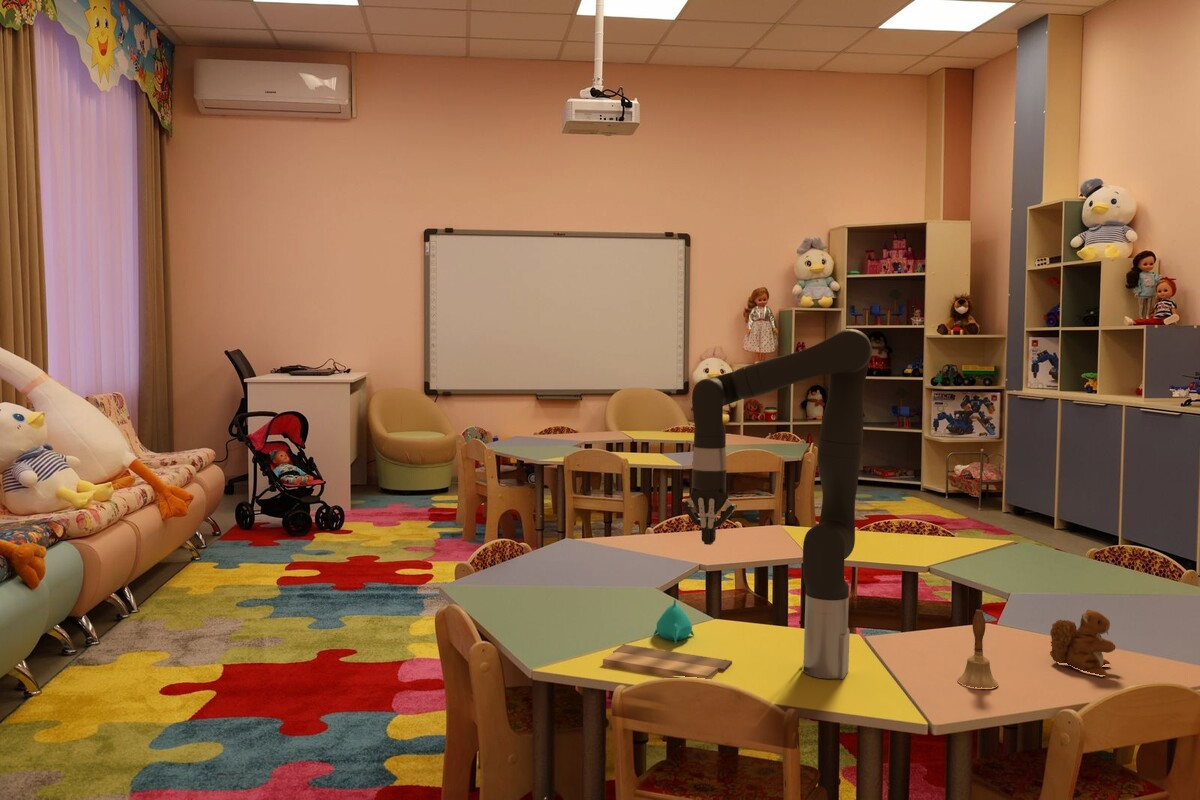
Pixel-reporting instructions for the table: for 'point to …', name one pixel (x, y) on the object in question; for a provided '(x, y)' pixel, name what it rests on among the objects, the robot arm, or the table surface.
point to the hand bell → (978, 659)
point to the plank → (658, 666)
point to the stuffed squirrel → (1082, 642)
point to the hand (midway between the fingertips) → (708, 544)
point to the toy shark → (674, 624)
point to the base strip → (675, 656)
